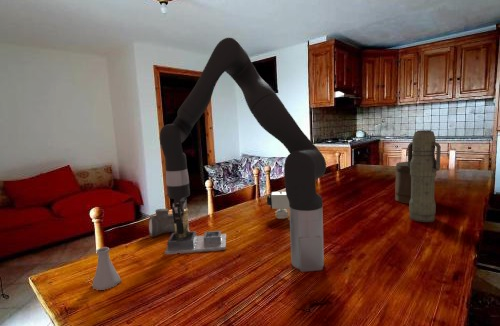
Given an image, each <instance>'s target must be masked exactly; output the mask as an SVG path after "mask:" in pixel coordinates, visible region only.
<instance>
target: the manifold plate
mask: <svg viewBox="0 0 500 326" xmlns="http://www.w3.org/2000/svg"><path fill="white" fill-rule="evenodd" d="M189 232H190V235H189V236H187V237H183V238H177V237H175V232H171V234H170V236H169V238H168V240H167V244H166V245H167V247H166V248H165V251H164V255H165V254H167V255H177V253H180V254H189V253H202V252H203V253H204V252H216V251H218V252H219V251H226V248H227V233H222V230H212V231H204V234H203V235H197V230H194V231H189Z"/></svg>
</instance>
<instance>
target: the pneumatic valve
mask: <svg viewBox="0 0 500 326" xmlns="http://www.w3.org/2000/svg"><path fill="white" fill-rule="evenodd" d="M266 205H267V206H269V208H270V210H273V209H275V210H276V211H275V212H274V213H275V215H274V216H275V217H276V219H278V220H281V219H282V220H283V219H284V220H285V219H286V218H288V216H289V213H288V210H289V200H288V198H287V195H286V191H282V190H279V191H271V192H270V194H268V195H267V197H266Z"/></svg>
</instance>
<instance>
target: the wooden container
mask: <svg viewBox="0 0 500 326" xmlns="http://www.w3.org/2000/svg"><path fill="white" fill-rule="evenodd" d="M395 165H396V166H395V167H396V168H395V182H394V183H395V188H394V189H395V190H394V192H395V194H394V196H395V197H394V200H395V201H396V202H398V203H401V204H408V205H409V202H410V199H411V175H410V168H409V167H408V161H401V162H396V164H395Z"/></svg>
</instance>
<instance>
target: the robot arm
mask: <svg viewBox="0 0 500 326" xmlns="http://www.w3.org/2000/svg"><path fill="white" fill-rule="evenodd" d="M225 72H226V74H228V75H229V76H230V78H231V79H232V80H233V81H234V82H235V84H237V85H238V87H239V88H240V90H241V92H242V94H243V96H244V100H245V103H246V106H247V107H248V109H249V112H251V114H252V116H253V117H254V119H256V121H257V123H258V124H259V125H260V126H261V127H262V129H264V130H265V131H266V132H267V133H268V134H270V135H271V136H272V137H274V139H276V140H278V142H280V143H281V144H282V145H283V146H284V147H285V149H286V150H287V151H288V153H289V154H288V156H286V158H285V160H284V166H283V167H284V168H283V174H284V177H283V178H284V187H285V192H286V195H287V198H288V200H289V209H288V210H289V233H290V254H291V255H290V257H291V258H290V259H291V261H290V262H291V266H292V267H293V268H295V269H298V270H299V271H300V272H301V273H304V272H314V271H315V272H316V271H323V268H324V264H325V263H324V262H325V257H324V255H325V254H324V253H325V252H324V223H323V222H324V220H323V219H324V216H323V209H324V208H323V205H324V204H323V197H322V196H321V194H319V193H317V188H316V180H319V179H320V178H322V177H323V176H324V174H325V173H326V171H327V162H326V159H325V157H324V155H323V154H322V152H321V151H320V149H318V148H317V146H316V145H315V144H314V143H313V141H311V140H310V139H309V137H308V136H307V134H305V133H304V132H303V130H302V129H301V128H300V126H299V125H298V123H297V121H295V119H294V117H293V115H291V114H290V112H289V110H288V109H287V108H286V106H285V105H284V102H282V100H281V99H280V98H279V96H278V95H277V93H276V92H275V90H273V88H272V87H271V86H270V85H269V84H268V83H267V82H266V81H265V80H264V79H263V78H262V77H261V76H260V74H259V72H258V71H257V69H256V67H255V65H254V64H253V62H252V59H251V58H250V57H249V55H248V53H247V51H246V50H245V48H244V47H243V46H242V45H241V43H240V42H239V41H238V40H237V39H236V38H233V37H226V38H223V39H221V40H220V41H219V42H218V43H217V44H216V46H215V47H214V49H213V51H212V52H211V54H210V56H209V59H208V60H207V63H206V64H205V66H204V68H203V70H202V72H201V74H200V76H199V78H198V79H197V82H196V83H195V86H194V87H193V88H192V90H191V91H190V93H189V94H188V95H187V96H186V98H185V99H184V101H183V102H182V104H181V105H180V106H179V108H178V110H177V116H176V118H174V120H173V122H172V123H168V124H165V125H163V126H162V127H161V129H160V132H159V143H160V147H161V151H162V154H163V156H164V162H165V163H164V164H165V165H164V166H165V183H166V194H167V198H168V199H173V203H172V207H171V213H172V212H173V219H174V224H176V227H177V234H183V233H184V227H183V216H184V215H185V214H184V208H188V207H187V197H189V196H190V195H191V190H190V178H189V171H188V163H187V162H188V161H187V155H186V153H185V152H183V146H182V143H184V142H185V141H186V139H187V138H188V137H189V135H190V133H191V132H192V130H193V128H194V126H195V124H196V123H197V122H198V120H199V119H200V118H201V116H203V114H204V113H205V112H206V110H207V108H208V107H209V105H210V102H211V100H212V96H213V93H214V90H215V88H216V84H217V83H218V81H219V79H220V78H221V76H222V75H223V74H224V73H225ZM181 212H182V214H181ZM177 217H179V218H180V220H177Z"/></svg>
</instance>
